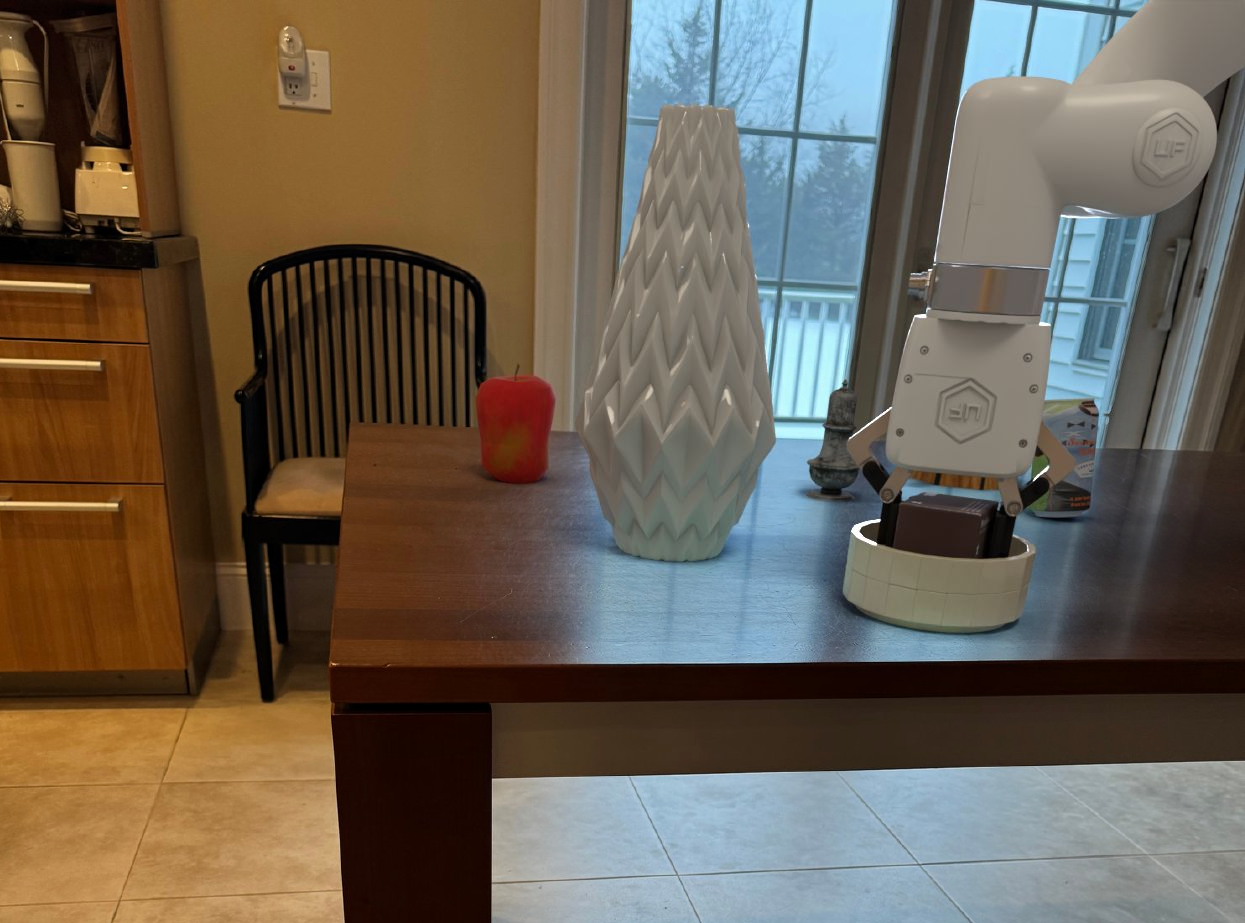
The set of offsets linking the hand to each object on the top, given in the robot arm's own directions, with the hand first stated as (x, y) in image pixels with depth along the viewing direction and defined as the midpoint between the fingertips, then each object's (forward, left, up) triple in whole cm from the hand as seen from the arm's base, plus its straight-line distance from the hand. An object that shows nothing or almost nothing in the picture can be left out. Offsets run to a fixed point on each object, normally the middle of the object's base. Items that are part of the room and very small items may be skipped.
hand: (940, 559), depth 87 cm
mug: (+1, -58, -4) cm, 58 cm away
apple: (+46, -32, -4) cm, 56 cm away
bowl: (0, 0, -4) cm, 4 cm away
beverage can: (-10, -43, -4) cm, 44 cm away
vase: (+23, -9, -4) cm, 25 cm away
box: (0, 0, -3) cm, 3 cm away
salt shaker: (+13, -41, -4) cm, 43 cm away
